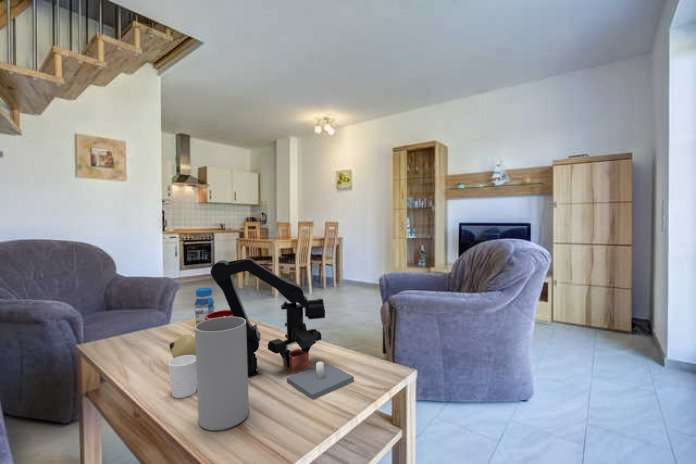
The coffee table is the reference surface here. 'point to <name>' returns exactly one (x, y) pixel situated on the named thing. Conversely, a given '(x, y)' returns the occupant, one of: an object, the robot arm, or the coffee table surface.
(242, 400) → the cylinder vase
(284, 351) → the robot arm
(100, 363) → the coffee table surface
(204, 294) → the beverage bottle
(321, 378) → the flat gray board
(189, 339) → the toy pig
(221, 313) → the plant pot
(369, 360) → the coffee table surface
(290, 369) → the red square tube
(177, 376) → the white cup
